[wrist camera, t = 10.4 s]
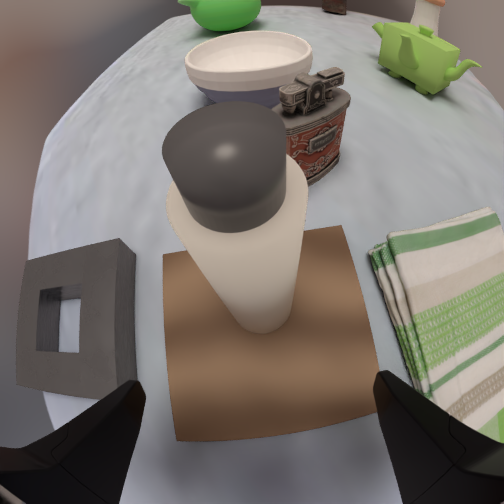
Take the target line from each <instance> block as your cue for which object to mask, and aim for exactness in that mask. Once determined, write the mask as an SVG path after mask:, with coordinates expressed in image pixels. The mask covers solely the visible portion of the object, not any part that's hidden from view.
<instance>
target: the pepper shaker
mask: <svg viewBox="0 0 504 504" xmlns="http://www.w3.org/2000/svg"><path fill="white" fill-rule="evenodd" d="M444 5H445V0H416V5H415V10H414V14H413V17H412V19H411V22H410V24H412V25H414V26H416V27H419V25H424V26H426V27H429V28H431V29H432V30H433V31H434V33H433V35H435V36H437V37H438V20H439V15H440V8H441V7H440V6H442V7H443V6H444Z"/></svg>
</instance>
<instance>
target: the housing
mask: <svg viewBox="0 0 504 504" xmlns="http://www.w3.org/2000/svg"><path fill="white" fill-rule="evenodd" d="M135 262H136V254H135V253H134V252H133V251H132V250H131V249H130V248H129V247H128V246H127V245H126V244H125V243H124V242H123V241H122V240H121V239H120V238H117V239H113V240H109V241H104V242H100V243H95V244H91V245H87V246H83V247H79V248H74V249H70V250H66V251H62V252H58V253H54V254H51V255H47V256H43V257H39V258H35V259H32V260H28V261H26V265H25V269H24V275H23V281H22V287H21V294H20V302H19V311H18V322H17V338H16V379H17V385H20V386H24V387H28V388H33V389H37V390H42V391H47V392H52V393H57V394H63V395H69V396H76V397H83V398H91V399H100V400H101V399H102V398H104V397H105V396H107V395H108V394H110V393H111V392H112V391H114V390H115V389H117V388H118V387H119V386H121V385H122V384H123V383H125V382H126V381H128V380H137V369H136V354H135V327H134V289H135ZM77 298H81V307H80V331H79V353H67V352H58V337H59V315H60V302H61V300H68V299H77Z"/></svg>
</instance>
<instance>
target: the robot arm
mask: <svg viewBox="0 0 504 504" xmlns="http://www.w3.org/2000/svg"><path fill="white" fill-rule="evenodd" d="M373 394H374V399H375V403H376V408H377V413H378V418H379V423H380V427H381V430H382V433H383V436H384V439H385V442H386V446H387V449H388V452H389V455H390V459H391V462H392V465H393V469H394V472H395V476H396V480H397V483H398V487H399V491H400V494H401V498H402V502H403V504H504V443H501V442H498V441H496V440H494V439H492V438H490V437H488V436H486V435H484V434H482V433H480V432H478V431H476V430H474V429H472V428H471V427H469V426H467V425H465V424H464V423H462V422H461V421H459V420H458V419H456V418H455V417H453V416H452V415H450V414H449V413H447V412H446V411H445V410H443V409H442V408H440V407H439V406H438V405H436V404H435V403H433V402H432V401H430V400H429V399H428V398H426V397H425V396H423V395H422V394H421V393H419V392H418V391H416V390H415V389H414V388H412V387H411V386H409V385H408V384H407V383H405V382H404V381H402V380H401V379H400V378H398V377H397V376H395V375H394V374H393V373H391V372H390V371H388V370H384V371H379V372H377V374H376V378H375V381H374V385H373ZM145 402H146V395H145V392H144V390H143V388H142V386H141V384H140V382H139V381H137V380H128V381H126V382H125V383H123V384H122V385H121V386H119V387H118V388H117V389H115V390H114V391H112V392H111V393H110V394H108V395H107V396H105V397H104V398H102V399H101V400H100V401H98V402H97V403H95V404H94V405H92V406H91V407H90V408H88V409H87V410H85V411H84V412H82V413H81V414H80V415H78V416H77V417H75V418H74V419H72V420H71V421H69V423H66V424H65V425H63V426H62V427H60V428H59V429H57V430H56V431H54V432H52V433H50V434H49V435H47V436H45V437H43V438H41V439H39V440H37V441H35V442H33V443H31V444H29V445H27V446H25V447H22V448H7V447H0V504H119V502H120V498H121V494H122V490H123V486H124V483H125V479H126V475H127V472H128V468H129V465H130V461H131V458H132V455H133V451H134V448H135V445H136V441H137V438H138V435H139V431H140V427H141V422H142V417H143V412H144V407H145Z"/></svg>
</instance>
